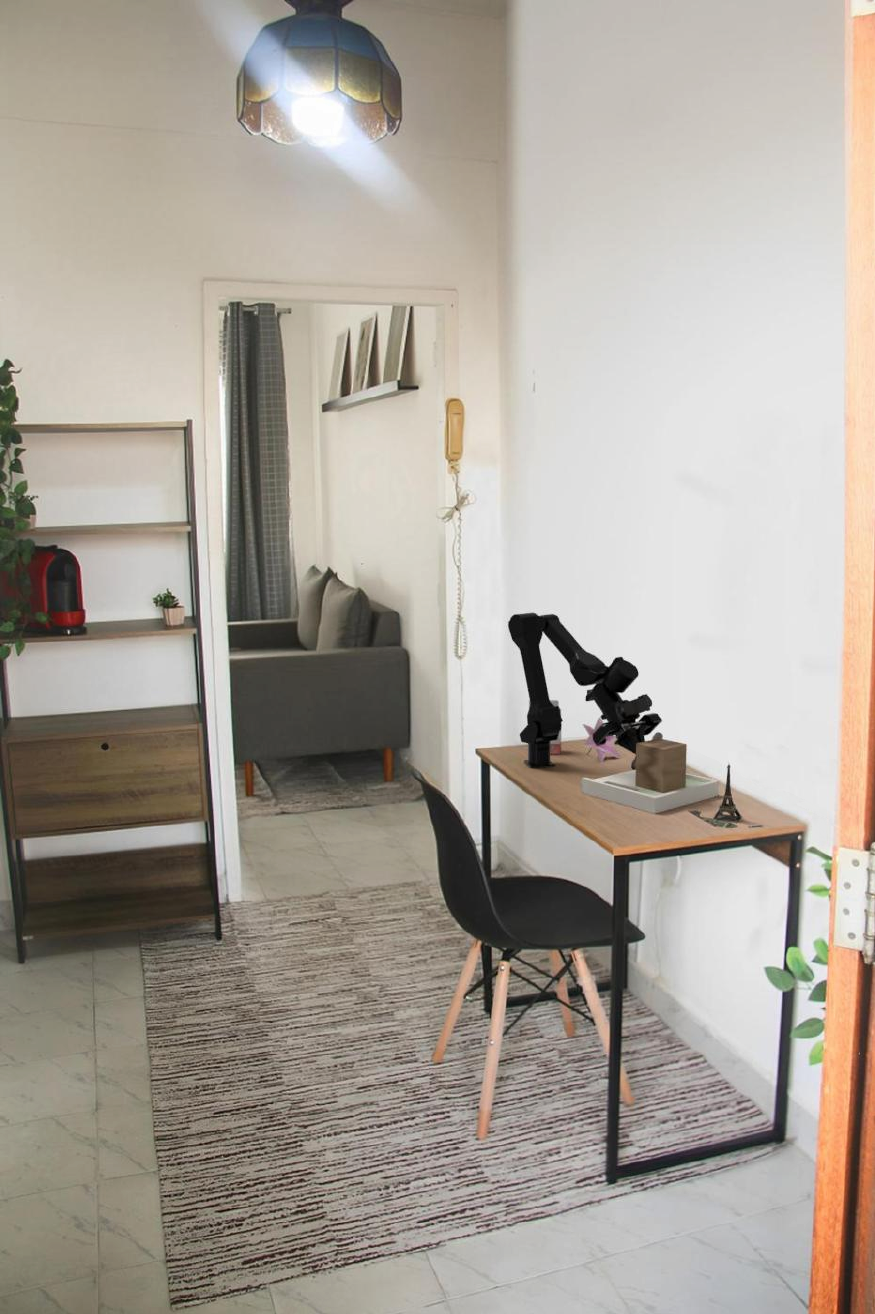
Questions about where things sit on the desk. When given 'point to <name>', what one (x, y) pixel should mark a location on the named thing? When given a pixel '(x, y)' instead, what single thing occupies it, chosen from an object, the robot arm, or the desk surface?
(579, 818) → the desk surface
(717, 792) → the box
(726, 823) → the eiffel tower figurine
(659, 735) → the portable electronic device stand
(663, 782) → the walnut block
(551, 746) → the ink cartridge box
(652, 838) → the desk surface
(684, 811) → the desk surface
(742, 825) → the desk surface
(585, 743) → the lily
